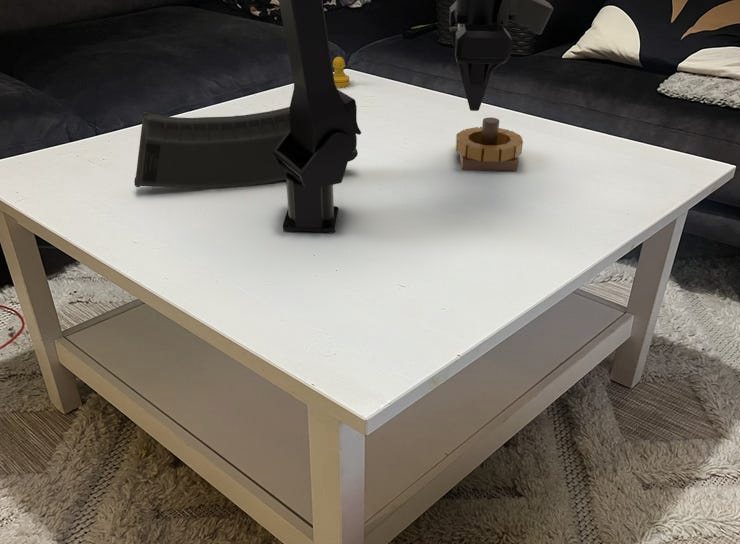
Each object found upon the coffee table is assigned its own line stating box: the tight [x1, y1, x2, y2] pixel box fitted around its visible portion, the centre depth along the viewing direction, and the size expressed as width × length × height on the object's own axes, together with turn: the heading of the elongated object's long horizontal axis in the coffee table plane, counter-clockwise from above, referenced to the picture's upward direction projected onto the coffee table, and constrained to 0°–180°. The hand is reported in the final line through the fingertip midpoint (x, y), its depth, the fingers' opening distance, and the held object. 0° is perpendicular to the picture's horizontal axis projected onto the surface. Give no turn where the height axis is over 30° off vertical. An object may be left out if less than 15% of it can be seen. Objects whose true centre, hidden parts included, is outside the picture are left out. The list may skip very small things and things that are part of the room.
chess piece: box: [332, 56, 350, 88], centre depth 139 cm, size 4×4×5 cm
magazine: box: [134, 106, 359, 189], centre depth 99 cm, size 17×3×30 cm
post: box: [459, 117, 519, 172], centre depth 108 cm, size 8×8×6 cm
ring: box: [455, 126, 524, 162], centre depth 108 cm, size 10×10×2 cm
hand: (471, 99), depth 95 cm, fingers open, 9 cm apart
